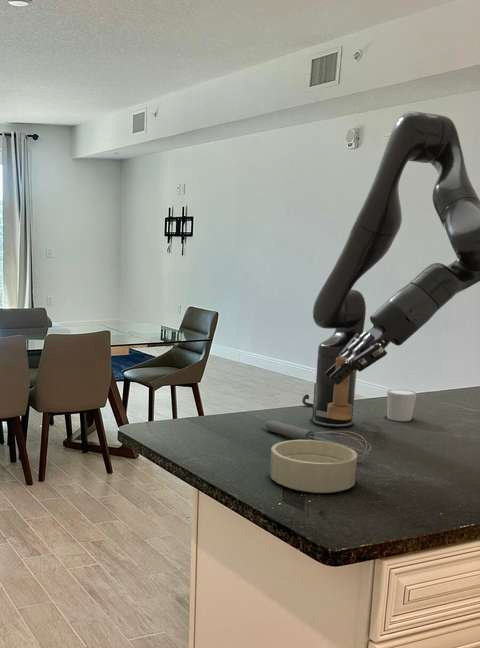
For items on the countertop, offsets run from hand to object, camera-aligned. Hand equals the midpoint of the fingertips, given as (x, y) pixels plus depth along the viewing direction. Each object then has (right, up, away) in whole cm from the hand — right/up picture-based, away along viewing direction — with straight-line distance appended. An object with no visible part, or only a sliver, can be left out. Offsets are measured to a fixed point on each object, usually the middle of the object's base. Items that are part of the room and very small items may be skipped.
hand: (330, 379), depth 132 cm
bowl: (-2, -20, +4) cm, 20 cm away
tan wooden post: (+2, -7, +2) cm, 8 cm away
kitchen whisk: (+4, -15, +25) cm, 29 cm away
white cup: (+35, -8, +48) cm, 60 cm away
